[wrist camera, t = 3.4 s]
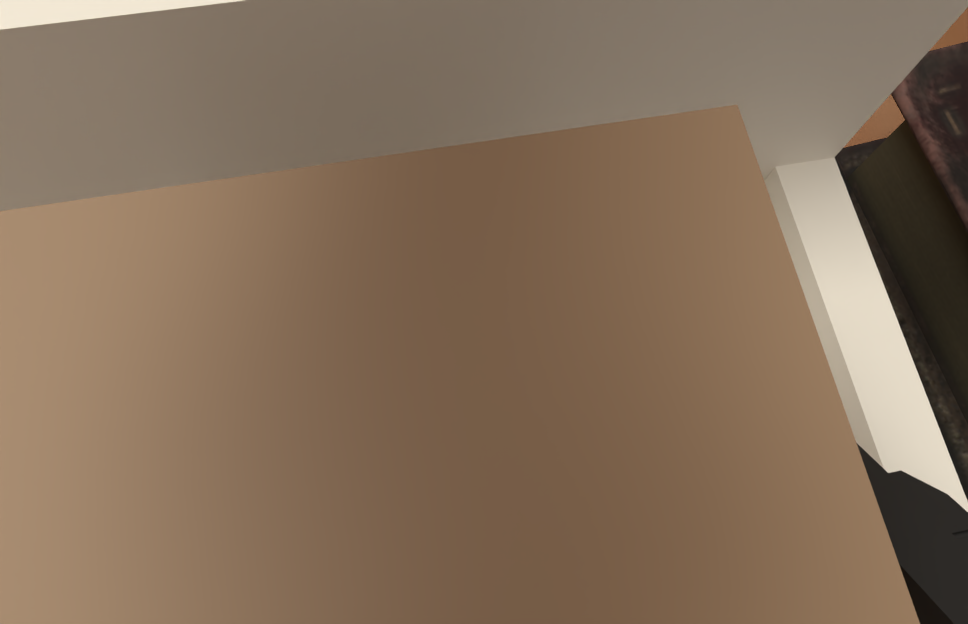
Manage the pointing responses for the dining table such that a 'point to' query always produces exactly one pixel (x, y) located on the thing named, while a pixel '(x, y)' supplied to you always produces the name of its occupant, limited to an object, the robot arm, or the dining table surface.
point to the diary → (924, 230)
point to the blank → (433, 397)
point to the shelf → (488, 118)
